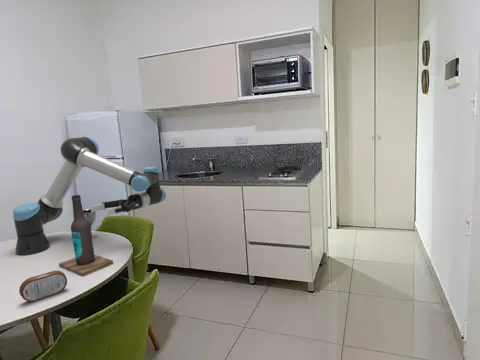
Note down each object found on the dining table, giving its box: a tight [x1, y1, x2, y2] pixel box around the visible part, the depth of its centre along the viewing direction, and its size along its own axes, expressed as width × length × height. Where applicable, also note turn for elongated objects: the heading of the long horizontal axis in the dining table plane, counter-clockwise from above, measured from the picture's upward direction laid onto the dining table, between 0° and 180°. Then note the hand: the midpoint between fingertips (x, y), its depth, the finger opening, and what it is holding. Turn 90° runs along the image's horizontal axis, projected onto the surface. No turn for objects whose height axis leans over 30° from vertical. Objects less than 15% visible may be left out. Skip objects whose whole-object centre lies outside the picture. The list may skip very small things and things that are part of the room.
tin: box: [19, 270, 68, 302], centre depth 123 cm, size 15×3×8 cm, turn 131°
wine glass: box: [83, 208, 99, 240], centre depth 188 cm, size 8×8×15 cm
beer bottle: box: [70, 194, 95, 265], centre depth 147 cm, size 8×8×30 cm
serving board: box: [58, 253, 114, 277], centre depth 149 cm, size 20×14×2 cm
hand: (99, 211), depth 153 cm, fingers open, 13 cm apart
